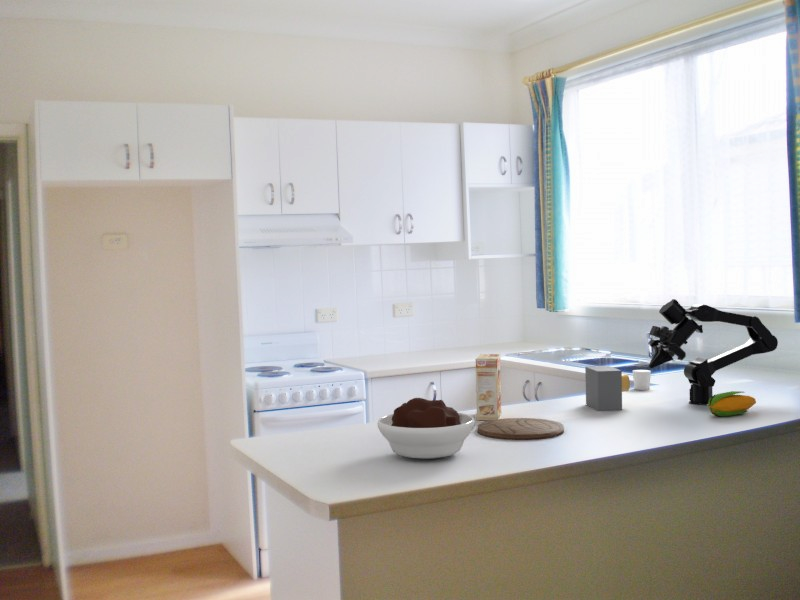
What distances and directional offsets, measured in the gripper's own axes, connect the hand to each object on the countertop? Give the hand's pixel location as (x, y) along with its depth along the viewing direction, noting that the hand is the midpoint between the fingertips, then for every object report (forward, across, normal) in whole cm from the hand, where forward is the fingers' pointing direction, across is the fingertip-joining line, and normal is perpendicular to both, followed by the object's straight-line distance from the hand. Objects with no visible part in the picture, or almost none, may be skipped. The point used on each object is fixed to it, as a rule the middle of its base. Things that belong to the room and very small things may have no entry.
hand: (649, 367), depth 278 cm
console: (+20, 0, -2) cm, 21 cm away
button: (+13, 0, -2) cm, 14 cm away
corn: (-4, +21, +22) cm, 31 cm away
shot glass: (+1, -36, +17) cm, 40 cm away
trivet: (+46, +33, -28) cm, 63 cm away
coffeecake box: (+49, +8, -31) cm, 58 cm away
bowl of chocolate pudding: (+68, +58, -50) cm, 102 cm away
